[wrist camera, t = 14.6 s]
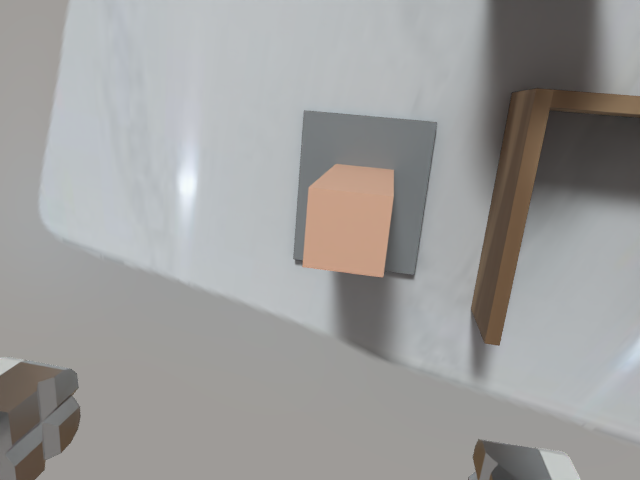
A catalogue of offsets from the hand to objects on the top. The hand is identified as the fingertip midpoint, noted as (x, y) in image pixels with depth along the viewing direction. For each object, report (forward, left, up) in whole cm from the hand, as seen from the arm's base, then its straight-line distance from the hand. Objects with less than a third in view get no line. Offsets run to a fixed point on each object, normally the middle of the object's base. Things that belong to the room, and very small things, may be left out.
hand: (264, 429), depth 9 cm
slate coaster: (0, 0, -29) cm, 29 cm away
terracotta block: (0, 0, -28) cm, 28 cm away
